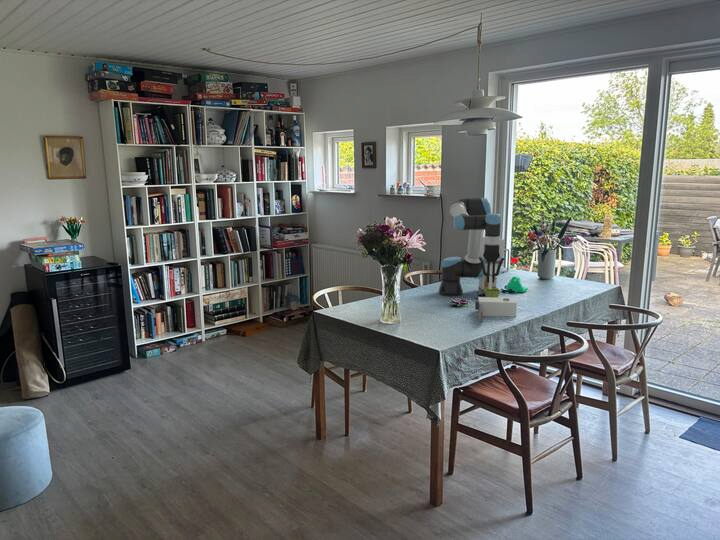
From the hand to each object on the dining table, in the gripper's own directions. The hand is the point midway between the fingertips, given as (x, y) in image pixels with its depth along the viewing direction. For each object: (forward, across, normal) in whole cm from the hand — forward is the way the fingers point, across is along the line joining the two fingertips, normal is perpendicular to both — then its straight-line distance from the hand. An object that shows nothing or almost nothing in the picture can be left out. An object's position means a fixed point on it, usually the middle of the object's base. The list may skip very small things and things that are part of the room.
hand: (490, 288), depth 281 cm
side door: (+18, -4, +5) cm, 19 cm away
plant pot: (+20, +3, +39) cm, 44 cm away
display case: (+20, +3, +68) cm, 71 cm away
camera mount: (+20, +21, +74) cm, 79 cm away
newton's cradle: (+21, +7, +125) cm, 127 cm away
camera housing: (+19, +5, +19) cm, 27 cm away
